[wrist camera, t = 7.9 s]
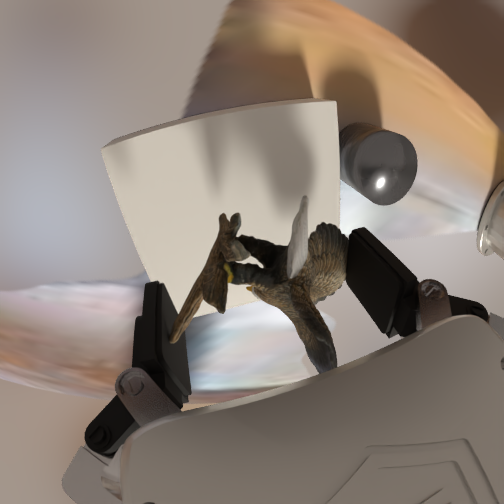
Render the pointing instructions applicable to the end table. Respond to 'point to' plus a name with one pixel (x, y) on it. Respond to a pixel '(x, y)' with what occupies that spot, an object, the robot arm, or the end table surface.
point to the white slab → (224, 184)
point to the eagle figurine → (276, 278)
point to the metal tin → (376, 162)
